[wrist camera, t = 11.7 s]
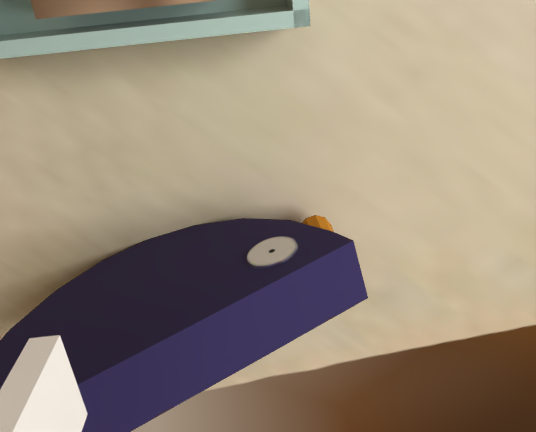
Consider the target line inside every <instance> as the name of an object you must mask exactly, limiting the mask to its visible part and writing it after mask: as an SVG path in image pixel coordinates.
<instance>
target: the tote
mask: <svg viewBox="0 0 536 432" xmlns="http://www.w3.org/2000/svg"><path fill="white" fill-rule="evenodd" d="M307 26H310V12H309V0H215V1H206V2H196V3H187V4H177V5H168V6H158V7H149V8H139V9H129V10H120V11H110V12H101V13H91V14H82V15H72V16H63V17H53V18H44V19H36V18H35V14H34V11H33V7H32V4H31V0H0V59H3V58H13V57H22V56H32V55H41V54H51V53H60V52H70V51H79V50H89V49H98V48H108V47H117V46H127V45H136V44H146V43H155V42H165V41H174V40H184V39H193V38H203V37H212V36H221V35H231V34H240V33H250V32H259V31H269V30H278V29H288V28H297V27H307Z"/></svg>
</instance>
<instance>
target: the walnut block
mask: <svg viewBox="0 0 536 432" xmlns="http://www.w3.org/2000/svg"><path fill="white" fill-rule="evenodd" d="M206 1H215V0H31V4H32V7H33V11H34V14H35V18H36V19H44V18H53V17H63V16H72V15H82V14H91V13H101V12H110V11H120V10H129V9H139V8H149V7H158V6H168V5H177V4H187V3H196V2H206Z"/></svg>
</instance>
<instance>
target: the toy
mask: <svg viewBox="0 0 536 432" xmlns="http://www.w3.org/2000/svg"><path fill="white" fill-rule="evenodd" d="M367 298H368V296H367V292H366V288H365V285H364V281H363V277H362V273H361V269H360V265H359V261H358V257H357V253H356V250H355V246H354V242H353V240H351V239H348V238H346V237H344V236H341V235H339V234H337V233H334V231H333V229H332V226H331V224H330V223H329V222H328V221H327V219H326V218H325V217H321V216H317V215H314V216H311V217H308V218H306V219H305V220H304V221H303V223H299V222H295V221H291V220H272V219H245V218H243V219H236V220H229V221H222V222H215V223H208V224H201V225H194V226H191V227H188V228H184V229H181V230H178V231H174V232H171V233H168V234H164V235H161V236H158V237H154V238H151V239H148V240H146V241H143V242H141V243H139V244H137V245H135V246H133V247H130V248H128V249H126V250H124V251H122V252H120V253H118V254H115V255H113V256H111V257H109V258H107V259H105V260H103V261H101V262H99V263H98V264H96V265H95V266H93V267H92V268H90V269H89V270H87V271H85V272H84V273H82V274H81V275H79V276H78V277H76V278H75V279H73V280H71V281H70V282H68V283H67V284H65V285H64V286H62V287H61V288H59V289H57V290H56V291H55V292H54V293H52V294H51V295H50V296H49V297H48V298H47V299H45V300H44V301H43V302H42V303H41V304H39V305H38V306H37V307H36V308H35V309H34V310H32V311H31V312H30V313H29V314H28V315H26V316H25V317H24V318H23V319H22V320H21V321H19V322H18V323H17V324H16V325H15V326H14V327H12V328H11V329H10V330H9V331H8V332H7V333H6V335H5V336H4V337H3V338H2V339H1V340H0V389H1V387H2V386H3V384H4V382H5V380H6V379H7V377H8V375H9V373H10V372H11V370H12V368H13V366H14V365H15V363H16V361H17V359H18V358H19V356H20V354H21V352H22V350H23V349H24V347H25V345H26V343H27V342H28V340H29V338H38V337H47V336H56V335H60V337H61V340H62V343H63V345H64V348H65V351H66V354H67V357H68V360H69V363H70V365H71V368H72V371H73V374H74V377H75V380H76V382H77V385H78V388H79V391H80V394H81V397H82V399H83V402H84V405H85V408H86V411H87V417H86V420H85V423H84V426H83V429H82V432H131V431H132V430H134V429H136V428H138V427H139V426H141V425H143V424H145V423H147V422H148V421H150V420H152V419H154V418H155V417H157V416H159V415H161V414H163V413H164V412H166V411H168V410H170V409H171V408H173V407H175V406H177V405H179V404H180V403H182V402H184V401H186V400H187V399H189V398H191V397H193V396H195V395H196V394H198V393H200V392H202V391H204V390H205V389H207V388H209V387H211V386H212V385H214V384H216V383H218V382H220V381H221V380H223V379H225V378H227V377H229V376H230V375H232V374H234V373H236V372H238V371H239V370H241V369H243V368H245V367H247V366H248V365H250V364H252V363H254V362H255V361H257V360H259V359H261V358H263V357H264V356H266V355H268V354H270V353H271V352H273V351H275V350H277V349H279V348H280V347H282V346H284V345H286V344H287V343H289V342H291V341H293V340H294V339H296V338H298V337H300V336H302V335H303V334H305V333H307V332H309V331H310V330H312V329H314V328H316V327H317V326H319V325H321V324H323V323H324V322H326V321H328V320H330V319H332V318H333V317H335V316H337V315H339V314H340V313H342V312H344V311H346V310H348V309H349V308H351V307H353V306H355V305H356V304H358V303H360V302H362V301H363V300H365V299H367Z"/></svg>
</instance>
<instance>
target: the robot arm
mask: <svg viewBox="0 0 536 432" xmlns="http://www.w3.org/2000/svg"><path fill="white" fill-rule="evenodd" d="M86 417H87V411H86V408H85V405H84V402H83V399H82V397H81V394H80V391H79V388H78V385H77V382H76V380H75V377H74V374H73V371H72V368H71V365H70V363H69V360H68V357H67V354H66V351H65V348H64V345H63V343H62V340H61V337H60V335H56V336H47V337H38V338H29V340H28V342H27V343H26V345H25V347H24V349H23V350H22V352H21V354H20V356H19V358H18V359H17V361H16V363H15V365H14V366H13V368H12V370H11V372H10V373H9V375H8V377H7V379H6V380H5V382H4V384H3V386H2V387H1V389H0V432H82V429H83V426H84V423H85V420H86Z"/></svg>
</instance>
